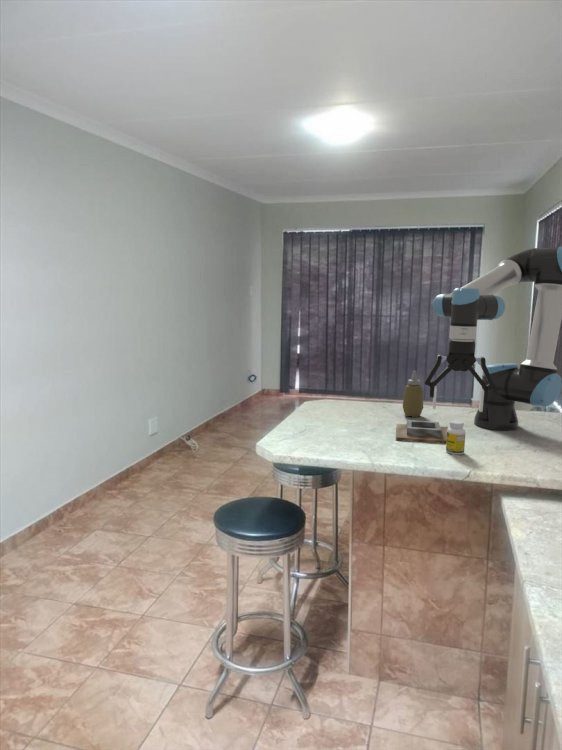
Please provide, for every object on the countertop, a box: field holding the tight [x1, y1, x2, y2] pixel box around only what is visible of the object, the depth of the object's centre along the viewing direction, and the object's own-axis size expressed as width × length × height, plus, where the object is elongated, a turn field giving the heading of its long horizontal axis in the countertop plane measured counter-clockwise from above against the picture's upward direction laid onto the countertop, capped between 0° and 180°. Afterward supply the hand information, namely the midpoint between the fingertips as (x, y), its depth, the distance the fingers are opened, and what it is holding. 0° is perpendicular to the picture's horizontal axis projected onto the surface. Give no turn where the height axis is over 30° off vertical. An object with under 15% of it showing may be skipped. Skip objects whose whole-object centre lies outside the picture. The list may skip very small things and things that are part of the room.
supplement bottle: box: [445, 419, 466, 456], centre depth 165 cm, size 5×5×10 cm
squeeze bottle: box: [402, 370, 424, 418], centre depth 210 cm, size 8×8×18 cm
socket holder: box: [395, 419, 449, 445], centre depth 185 cm, size 18×18×4 cm
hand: (457, 409), depth 163 cm, fingers open, 13 cm apart
